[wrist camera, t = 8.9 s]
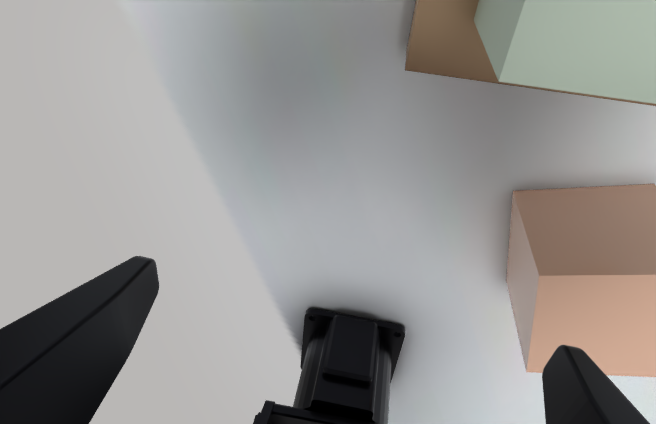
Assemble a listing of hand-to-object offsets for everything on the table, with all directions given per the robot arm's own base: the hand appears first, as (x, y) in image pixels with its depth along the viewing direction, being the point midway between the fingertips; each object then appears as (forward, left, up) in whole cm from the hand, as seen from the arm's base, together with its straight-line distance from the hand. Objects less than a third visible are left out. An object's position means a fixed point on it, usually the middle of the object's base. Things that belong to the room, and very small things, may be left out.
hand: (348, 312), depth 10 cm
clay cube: (-6, -11, -13) cm, 18 cm away
